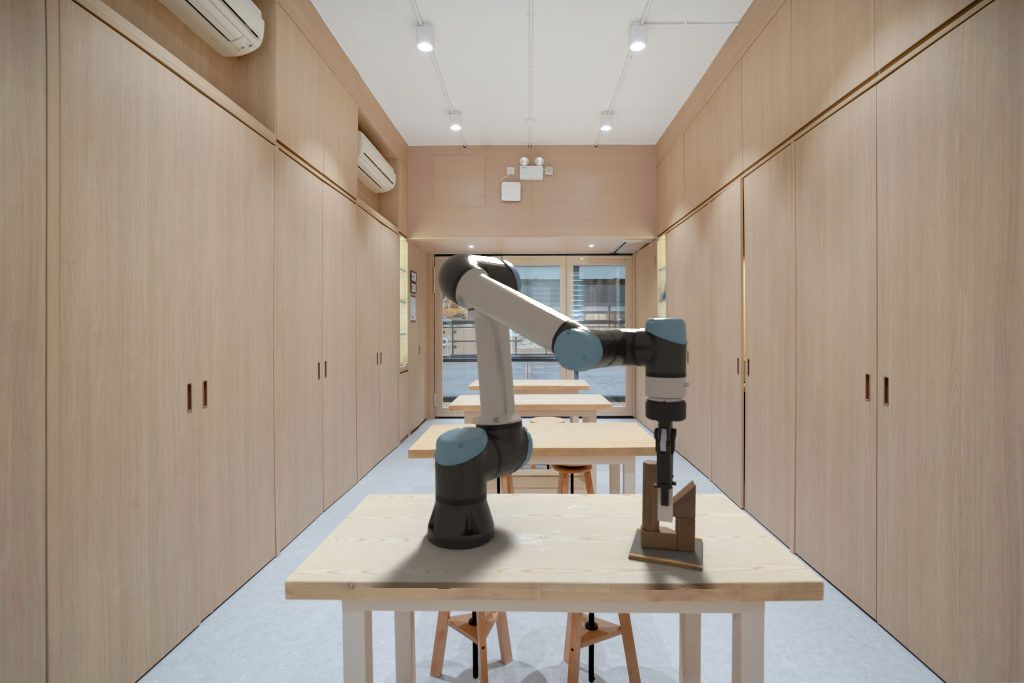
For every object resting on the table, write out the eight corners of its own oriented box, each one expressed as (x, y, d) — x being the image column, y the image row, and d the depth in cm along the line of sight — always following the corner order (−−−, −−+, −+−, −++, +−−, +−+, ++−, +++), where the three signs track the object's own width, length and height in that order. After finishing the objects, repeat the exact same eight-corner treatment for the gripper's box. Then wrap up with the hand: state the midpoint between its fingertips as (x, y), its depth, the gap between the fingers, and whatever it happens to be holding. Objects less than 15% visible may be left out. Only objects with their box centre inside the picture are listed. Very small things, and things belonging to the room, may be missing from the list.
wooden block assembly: (695, 553, 101) (696, 467, 100) (641, 548, 103) (642, 463, 102) (692, 545, 104) (693, 462, 104) (640, 540, 106) (641, 459, 106)
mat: (628, 557, 100) (628, 554, 100) (637, 531, 113) (637, 528, 113) (701, 570, 94) (701, 567, 94) (702, 541, 107) (702, 538, 107)
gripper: (685, 404, 86) (684, 536, 86) (687, 395, 98) (687, 511, 98) (641, 402, 88) (641, 530, 89) (649, 393, 101) (648, 506, 101)
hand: (665, 520), depth 94 cm, fingers closed
